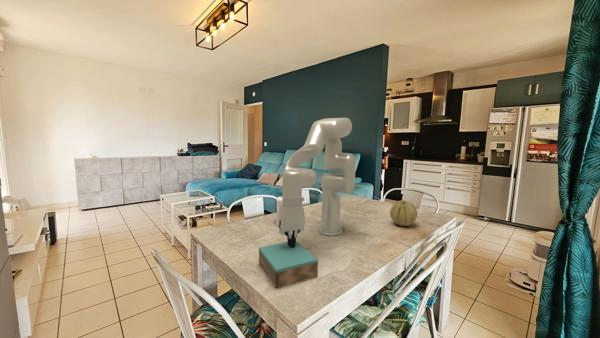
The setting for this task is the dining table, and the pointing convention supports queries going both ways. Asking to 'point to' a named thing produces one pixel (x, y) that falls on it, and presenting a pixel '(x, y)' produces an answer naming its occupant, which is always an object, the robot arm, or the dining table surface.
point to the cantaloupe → (403, 213)
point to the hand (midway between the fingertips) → (291, 246)
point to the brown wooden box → (288, 273)
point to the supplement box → (278, 208)
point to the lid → (287, 256)
